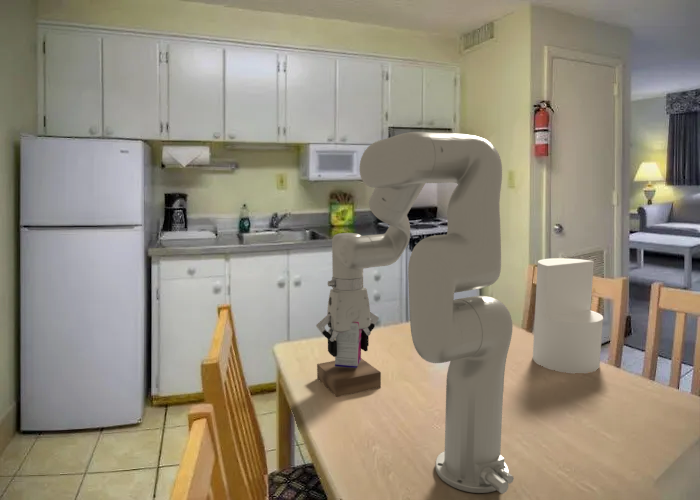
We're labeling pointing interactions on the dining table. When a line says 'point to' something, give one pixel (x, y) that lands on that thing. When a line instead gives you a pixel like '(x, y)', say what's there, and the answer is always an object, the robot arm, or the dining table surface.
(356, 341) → the supplement box
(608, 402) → the dining table surface
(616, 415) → the dining table surface
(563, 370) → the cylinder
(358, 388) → the walnut riser block
